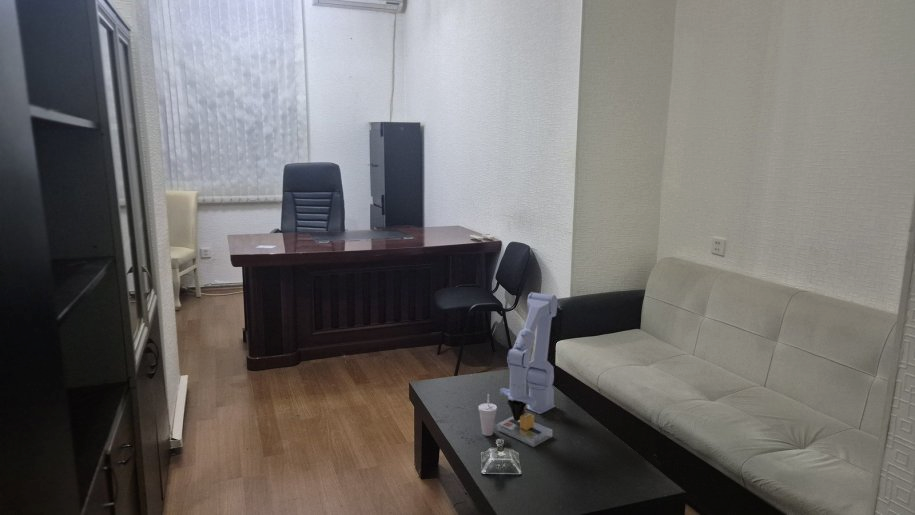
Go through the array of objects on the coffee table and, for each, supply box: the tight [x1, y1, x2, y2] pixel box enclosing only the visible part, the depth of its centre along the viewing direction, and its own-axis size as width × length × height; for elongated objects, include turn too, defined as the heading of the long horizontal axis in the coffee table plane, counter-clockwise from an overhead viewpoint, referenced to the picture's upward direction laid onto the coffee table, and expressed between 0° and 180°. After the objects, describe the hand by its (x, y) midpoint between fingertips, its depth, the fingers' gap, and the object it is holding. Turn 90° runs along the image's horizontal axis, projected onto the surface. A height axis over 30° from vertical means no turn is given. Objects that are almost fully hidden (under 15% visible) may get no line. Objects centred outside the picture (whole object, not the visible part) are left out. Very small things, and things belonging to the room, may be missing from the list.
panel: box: [497, 415, 553, 448], centre depth 204 cm, size 10×16×3 cm, turn 44°
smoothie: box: [478, 393, 498, 437], centre depth 203 cm, size 6×6×14 cm
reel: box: [521, 404, 528, 416], centre depth 216 cm, size 5×5×5 cm
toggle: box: [520, 412, 535, 430], centre depth 202 cm, size 4×3×4 cm
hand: (517, 419), depth 206 cm, fingers closed
